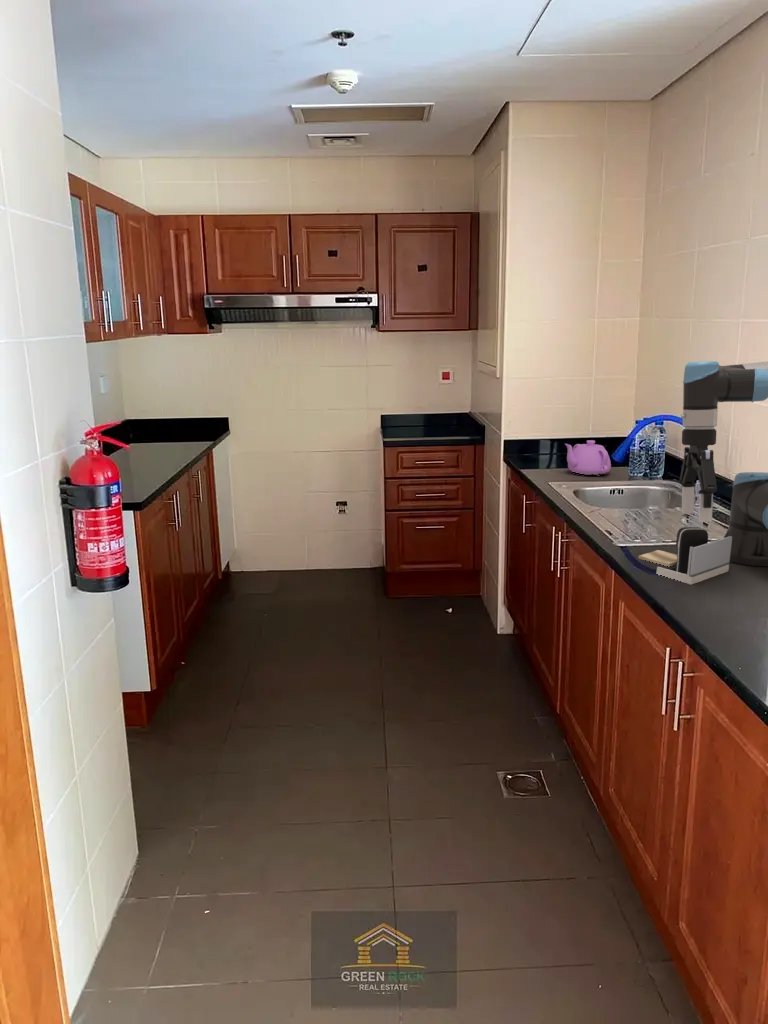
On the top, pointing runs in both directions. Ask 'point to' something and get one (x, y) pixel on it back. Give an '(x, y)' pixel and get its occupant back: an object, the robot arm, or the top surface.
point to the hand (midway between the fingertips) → (696, 517)
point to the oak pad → (660, 558)
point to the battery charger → (688, 545)
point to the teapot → (588, 458)
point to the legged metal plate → (703, 562)
